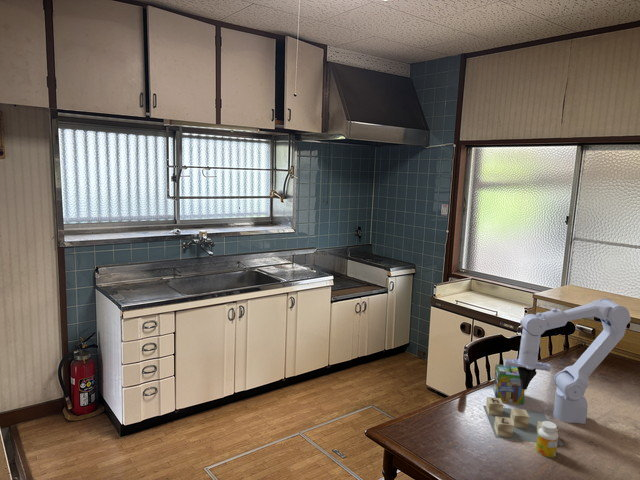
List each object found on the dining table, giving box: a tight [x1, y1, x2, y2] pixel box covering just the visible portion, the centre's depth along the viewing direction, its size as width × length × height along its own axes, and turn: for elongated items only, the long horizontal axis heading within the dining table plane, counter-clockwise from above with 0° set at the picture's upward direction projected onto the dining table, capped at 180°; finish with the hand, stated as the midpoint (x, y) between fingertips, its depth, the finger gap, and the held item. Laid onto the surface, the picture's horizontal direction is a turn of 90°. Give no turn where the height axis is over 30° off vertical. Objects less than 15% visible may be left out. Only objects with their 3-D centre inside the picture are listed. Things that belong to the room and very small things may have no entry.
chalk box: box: [492, 364, 525, 405], centre depth 170 cm, size 9×9×15 cm
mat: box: [482, 405, 565, 447], centre depth 152 cm, size 20×20×1 cm
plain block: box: [510, 408, 529, 428], centre depth 152 cm, size 4×4×4 cm
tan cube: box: [537, 421, 559, 435], centre depth 145 cm, size 4×4×4 cm
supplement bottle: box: [535, 420, 559, 458], centre depth 137 cm, size 5×5×10 cm
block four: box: [485, 396, 505, 416], centre depth 159 cm, size 4×4×4 cm
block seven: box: [494, 416, 514, 437], centre depth 147 cm, size 4×4×4 cm
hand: (523, 388), depth 157 cm, fingers closed
